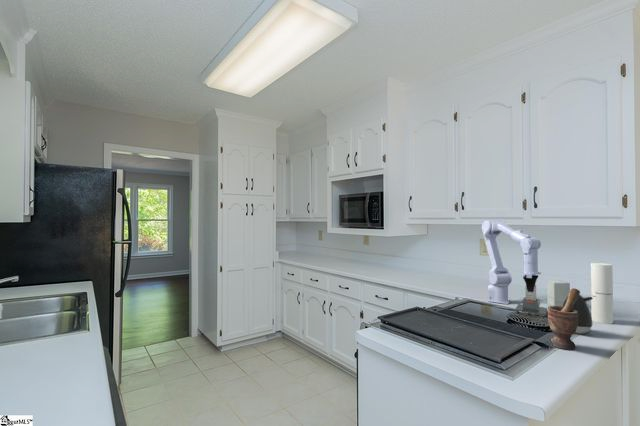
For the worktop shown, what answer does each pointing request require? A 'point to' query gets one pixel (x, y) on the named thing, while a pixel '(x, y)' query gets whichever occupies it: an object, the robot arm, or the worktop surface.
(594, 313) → the cylindrical container
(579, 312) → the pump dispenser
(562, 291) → the supplement box
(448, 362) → the worktop surface
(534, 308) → the stand
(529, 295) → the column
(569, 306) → the mortar and pestle
